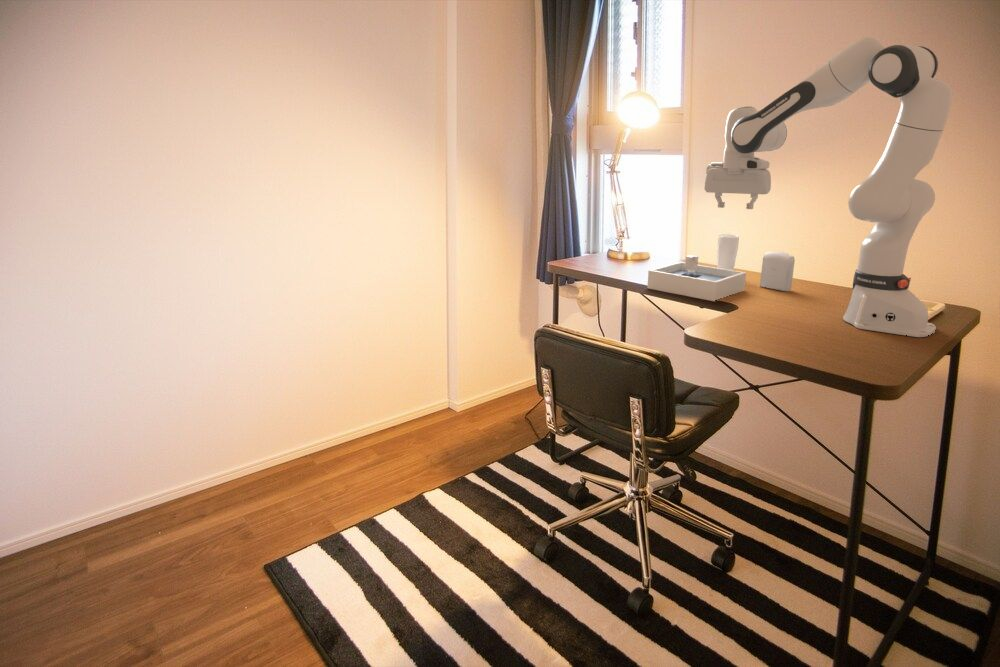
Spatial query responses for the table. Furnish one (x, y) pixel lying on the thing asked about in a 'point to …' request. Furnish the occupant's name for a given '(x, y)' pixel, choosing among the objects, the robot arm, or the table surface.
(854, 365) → the table surface
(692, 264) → the peg
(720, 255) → the drinking glass
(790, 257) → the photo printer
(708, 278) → the box
